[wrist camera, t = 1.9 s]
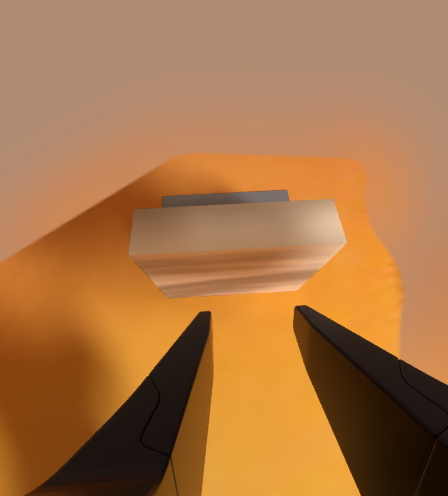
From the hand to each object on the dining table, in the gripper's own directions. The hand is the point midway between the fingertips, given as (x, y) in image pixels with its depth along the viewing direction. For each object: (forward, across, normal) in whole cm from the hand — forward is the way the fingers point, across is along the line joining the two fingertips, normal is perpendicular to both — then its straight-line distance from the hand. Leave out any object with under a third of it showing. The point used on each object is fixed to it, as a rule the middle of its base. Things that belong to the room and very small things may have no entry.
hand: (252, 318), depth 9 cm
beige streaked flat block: (+13, 0, +5) cm, 14 cm away
